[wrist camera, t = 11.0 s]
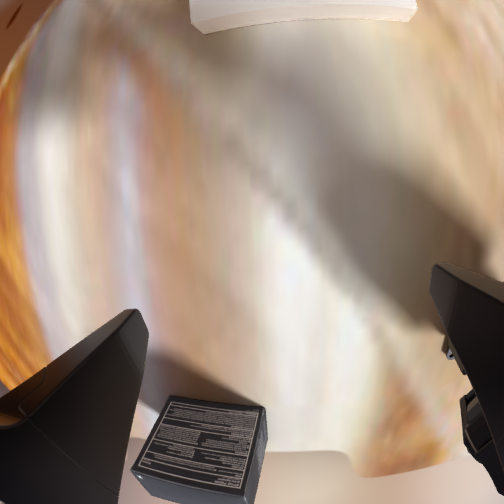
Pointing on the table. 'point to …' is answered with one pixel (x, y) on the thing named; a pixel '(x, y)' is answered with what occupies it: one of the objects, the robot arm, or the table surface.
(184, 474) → the small box
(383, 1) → the base
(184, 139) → the table surface
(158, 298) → the table surface
